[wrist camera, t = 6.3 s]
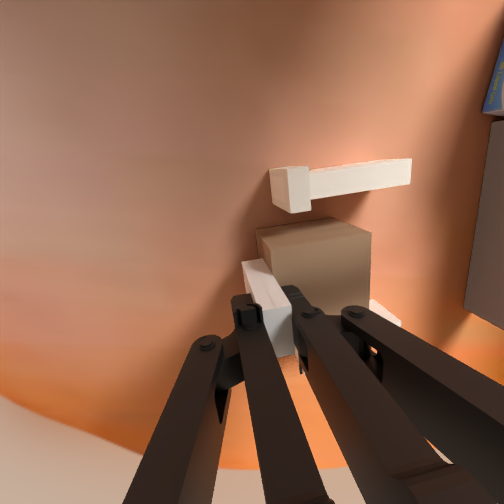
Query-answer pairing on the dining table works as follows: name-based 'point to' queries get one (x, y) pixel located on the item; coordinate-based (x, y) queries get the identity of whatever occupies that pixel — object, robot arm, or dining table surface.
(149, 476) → the robot arm
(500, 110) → the medicine box
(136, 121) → the dining table surface
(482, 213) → the block
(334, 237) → the block
